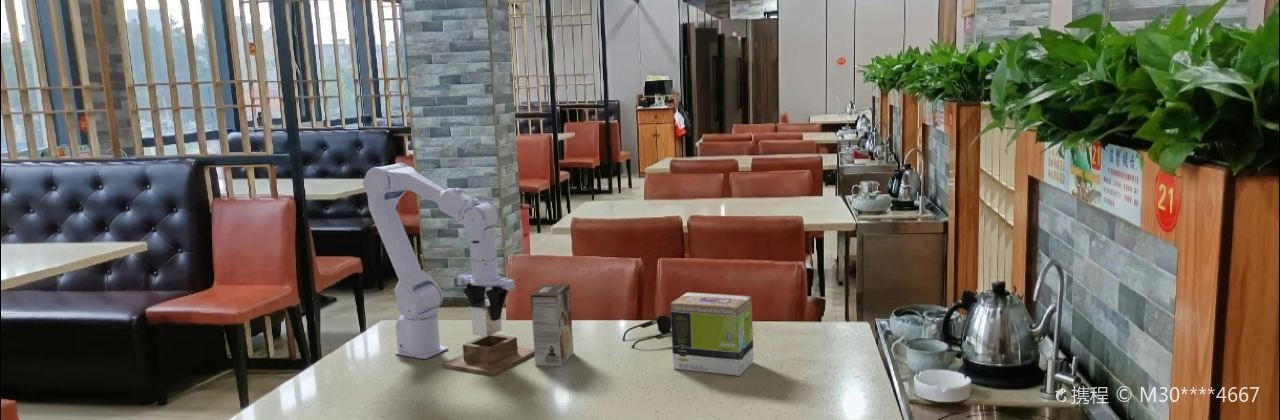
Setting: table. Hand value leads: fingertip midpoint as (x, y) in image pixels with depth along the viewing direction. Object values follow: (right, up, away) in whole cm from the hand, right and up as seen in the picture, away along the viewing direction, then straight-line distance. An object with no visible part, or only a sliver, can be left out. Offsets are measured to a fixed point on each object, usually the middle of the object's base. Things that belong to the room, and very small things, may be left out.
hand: (488, 318), depth 192 cm
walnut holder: (0, -9, +2) cm, 10 cm away
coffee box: (+15, -9, 0) cm, 17 cm away
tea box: (+49, -9, -8) cm, 51 cm away
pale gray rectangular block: (0, -3, 0) cm, 3 cm away
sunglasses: (+36, -7, +11) cm, 38 cm away
